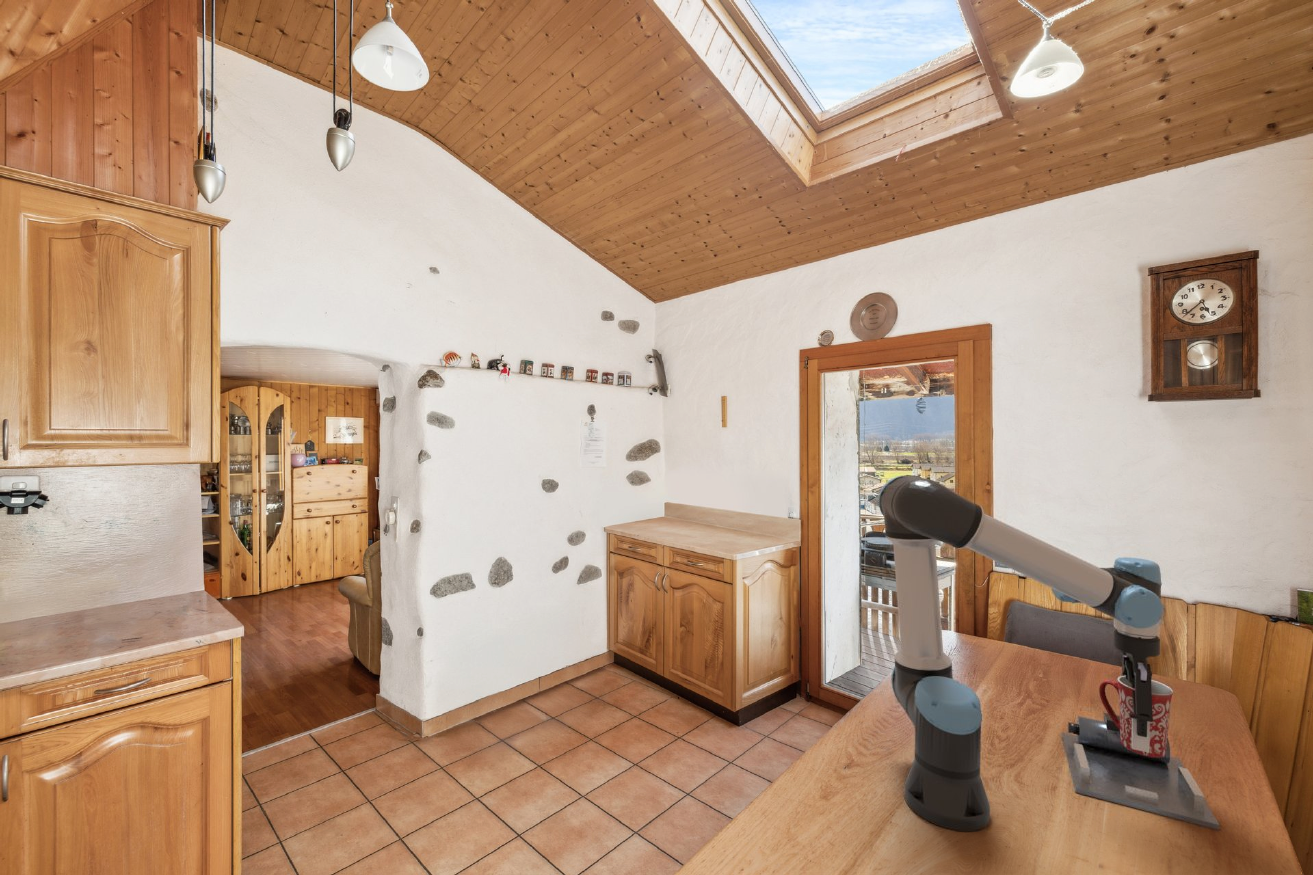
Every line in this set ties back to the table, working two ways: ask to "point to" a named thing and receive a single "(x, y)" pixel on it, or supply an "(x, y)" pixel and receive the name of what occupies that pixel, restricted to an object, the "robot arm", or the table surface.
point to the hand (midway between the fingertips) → (1135, 739)
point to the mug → (1159, 712)
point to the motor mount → (1131, 774)
